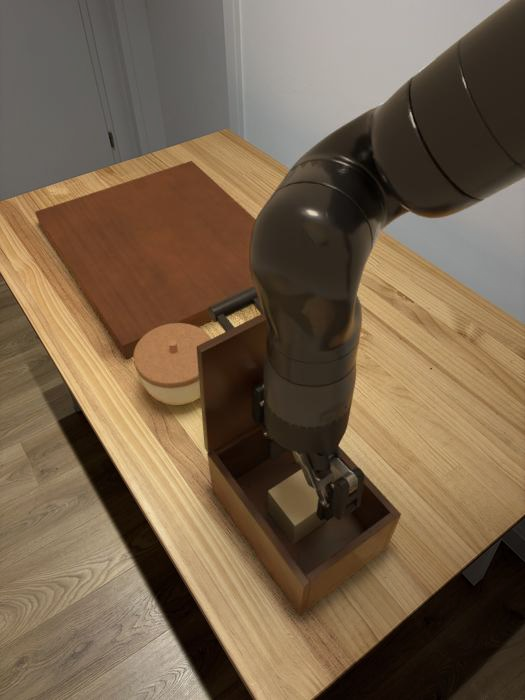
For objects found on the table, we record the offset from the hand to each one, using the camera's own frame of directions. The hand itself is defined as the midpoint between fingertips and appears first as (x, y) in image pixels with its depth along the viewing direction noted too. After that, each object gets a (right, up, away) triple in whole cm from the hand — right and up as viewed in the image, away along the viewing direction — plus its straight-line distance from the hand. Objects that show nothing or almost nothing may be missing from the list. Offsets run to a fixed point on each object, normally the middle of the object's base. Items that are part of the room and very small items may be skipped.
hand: (300, 482), depth 58 cm
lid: (-4, +11, -3) cm, 12 cm away
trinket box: (-16, +9, +20) cm, 27 cm away
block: (0, -5, +6) cm, 8 cm away
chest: (0, -6, +7) cm, 9 cm away
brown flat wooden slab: (-21, +32, +41) cm, 56 cm away
